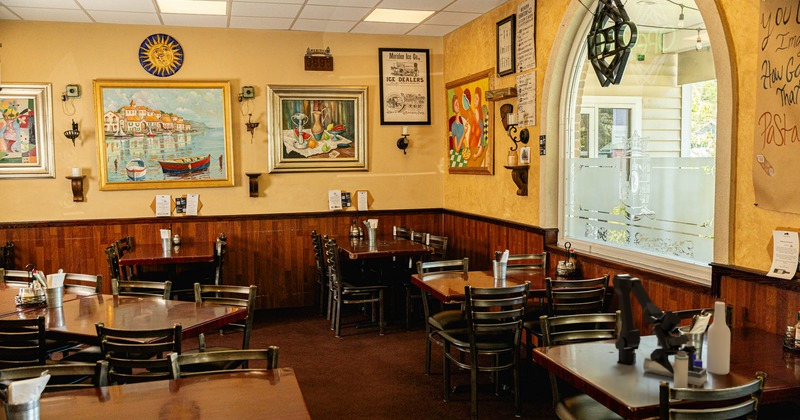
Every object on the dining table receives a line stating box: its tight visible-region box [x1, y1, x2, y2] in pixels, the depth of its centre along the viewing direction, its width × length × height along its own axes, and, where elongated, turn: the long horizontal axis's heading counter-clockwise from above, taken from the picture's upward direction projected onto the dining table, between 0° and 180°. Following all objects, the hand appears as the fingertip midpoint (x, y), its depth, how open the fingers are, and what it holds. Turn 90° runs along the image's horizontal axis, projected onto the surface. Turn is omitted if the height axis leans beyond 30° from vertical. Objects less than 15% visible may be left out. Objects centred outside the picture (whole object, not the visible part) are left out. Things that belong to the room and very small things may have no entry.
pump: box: [673, 351, 688, 389], centre depth 263 cm, size 5×5×15 cm
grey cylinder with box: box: [642, 357, 708, 387], centre depth 277 cm, size 24×9×7 cm, turn 50°
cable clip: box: [692, 352, 703, 368], centre depth 286 cm, size 12×4×6 cm, turn 170°
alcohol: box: [705, 301, 731, 376], centre depth 282 cm, size 9×9×30 cm
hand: (683, 372), depth 262 cm, fingers open, 9 cm apart
